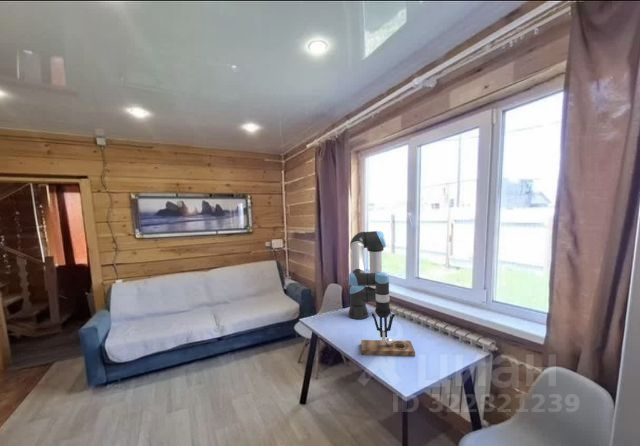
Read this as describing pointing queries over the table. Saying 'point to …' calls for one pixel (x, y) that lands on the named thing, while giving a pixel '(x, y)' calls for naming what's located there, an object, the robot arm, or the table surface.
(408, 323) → the table surface
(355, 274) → the robot arm
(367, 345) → the board
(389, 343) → the ball
